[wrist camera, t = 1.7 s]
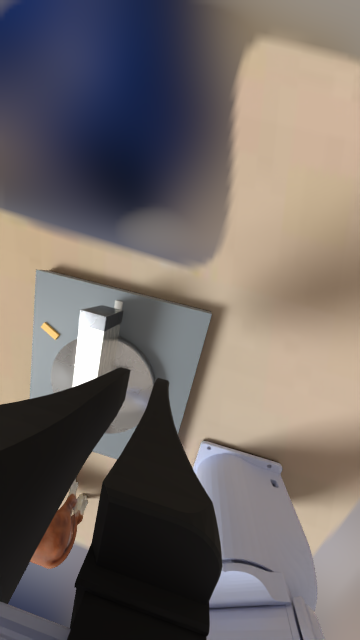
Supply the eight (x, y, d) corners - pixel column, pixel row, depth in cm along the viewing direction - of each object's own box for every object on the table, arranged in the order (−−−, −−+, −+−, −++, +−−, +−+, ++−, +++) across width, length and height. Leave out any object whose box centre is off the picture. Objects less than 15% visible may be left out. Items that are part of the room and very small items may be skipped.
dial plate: (211, 311, 18) (212, 314, 17) (168, 462, 23) (166, 476, 21) (48, 270, 20) (34, 269, 18) (38, 422, 24) (26, 432, 22)
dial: (172, 320, 17) (163, 332, 13) (145, 436, 21) (130, 475, 16) (66, 292, 18) (26, 295, 14) (56, 409, 21) (20, 439, 17)
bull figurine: (13, 451, 26) (-70, 526, 18) (100, 484, 25) (54, 578, 17) (11, 473, 27) (-69, 554, 19) (95, 506, 26) (48, 604, 18)
